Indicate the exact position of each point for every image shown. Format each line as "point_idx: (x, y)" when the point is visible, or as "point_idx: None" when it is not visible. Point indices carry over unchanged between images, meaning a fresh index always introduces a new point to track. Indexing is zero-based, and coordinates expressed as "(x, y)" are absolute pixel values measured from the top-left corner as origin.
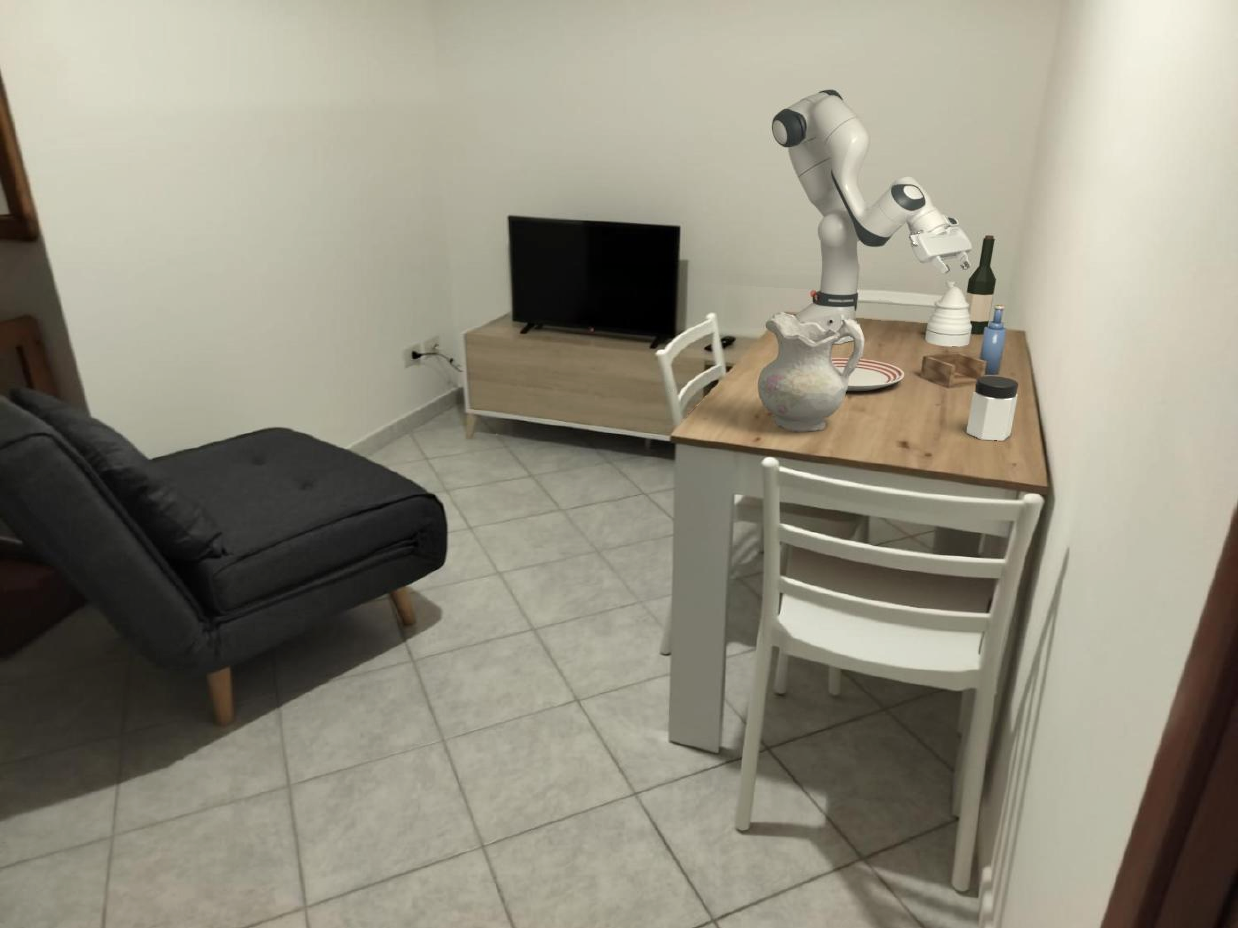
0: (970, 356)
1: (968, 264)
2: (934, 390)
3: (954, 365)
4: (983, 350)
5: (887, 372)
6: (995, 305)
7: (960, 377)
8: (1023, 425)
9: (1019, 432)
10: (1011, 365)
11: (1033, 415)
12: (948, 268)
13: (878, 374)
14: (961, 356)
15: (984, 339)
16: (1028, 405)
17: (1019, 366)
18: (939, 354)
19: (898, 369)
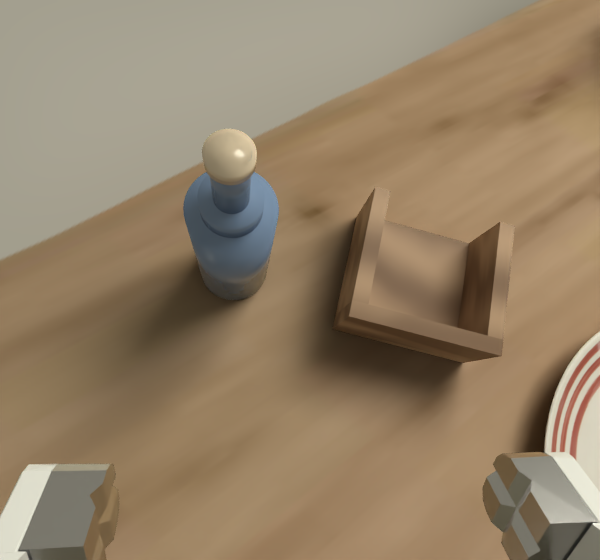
0: (364, 252)
1: (67, 482)
2: (522, 263)
3: (501, 225)
4: (269, 256)
5: (570, 421)
6: (239, 170)
7: (390, 268)
8: (544, 25)
9: (583, 16)
10: (88, 263)
11: (474, 36)
12: (542, 463)
13: (587, 440)
14: (371, 282)
15: (269, 246)
16: (423, 67)
17: (80, 241)
18: (433, 334)
19: (563, 389)
